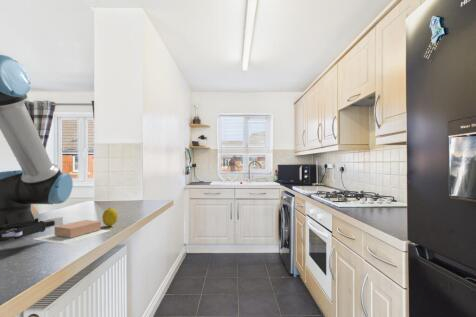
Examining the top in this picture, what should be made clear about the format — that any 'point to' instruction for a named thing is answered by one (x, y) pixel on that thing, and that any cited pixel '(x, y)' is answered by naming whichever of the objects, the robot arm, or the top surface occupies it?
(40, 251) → the top surface
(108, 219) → the lemon
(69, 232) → the block
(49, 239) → the mat
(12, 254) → the top surface
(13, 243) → the top surface
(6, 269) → the top surface
